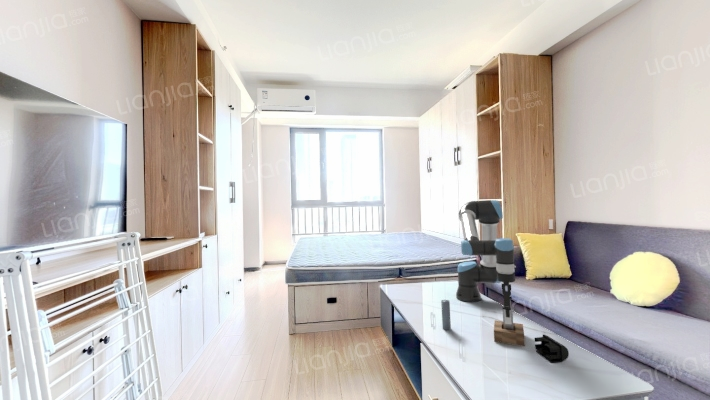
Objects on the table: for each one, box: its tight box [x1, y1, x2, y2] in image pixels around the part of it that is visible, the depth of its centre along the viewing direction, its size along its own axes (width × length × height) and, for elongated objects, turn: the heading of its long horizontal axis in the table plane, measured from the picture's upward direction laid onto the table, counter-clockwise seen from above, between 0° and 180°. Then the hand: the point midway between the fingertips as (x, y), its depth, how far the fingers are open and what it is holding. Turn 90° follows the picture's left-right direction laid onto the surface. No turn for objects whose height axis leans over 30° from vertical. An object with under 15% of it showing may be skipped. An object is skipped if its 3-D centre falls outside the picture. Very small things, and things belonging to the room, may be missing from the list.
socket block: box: [493, 320, 526, 347], centre depth 134 cm, size 12×12×5 cm
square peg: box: [502, 305, 514, 330], centre depth 134 cm, size 4×4×14 cm
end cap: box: [534, 334, 570, 364], centre depth 117 cm, size 10×7×7 cm
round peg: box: [440, 299, 452, 331], centre depth 147 cm, size 4×4×14 cm
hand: (508, 318), depth 134 cm, fingers open, 13 cm apart
